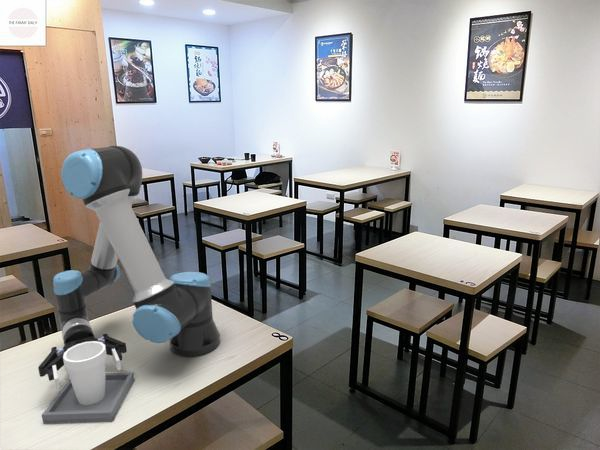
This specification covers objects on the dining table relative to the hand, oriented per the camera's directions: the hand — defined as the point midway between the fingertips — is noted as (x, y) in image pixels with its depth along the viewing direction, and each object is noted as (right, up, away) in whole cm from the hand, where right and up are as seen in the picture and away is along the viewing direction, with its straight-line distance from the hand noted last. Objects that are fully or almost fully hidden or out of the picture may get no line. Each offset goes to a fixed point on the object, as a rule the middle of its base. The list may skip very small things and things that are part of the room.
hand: (88, 374), depth 105 cm
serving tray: (-2, -8, +5) cm, 10 cm away
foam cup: (-2, -8, +5) cm, 9 cm away
